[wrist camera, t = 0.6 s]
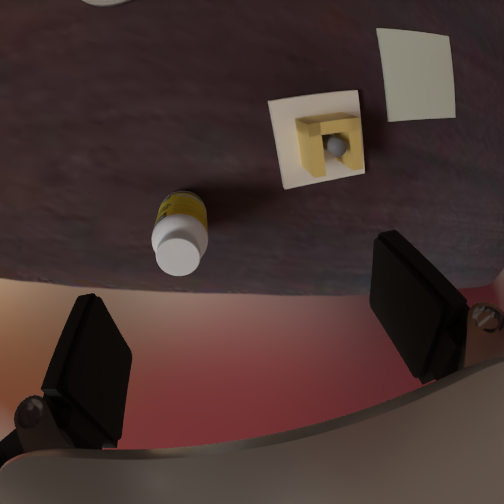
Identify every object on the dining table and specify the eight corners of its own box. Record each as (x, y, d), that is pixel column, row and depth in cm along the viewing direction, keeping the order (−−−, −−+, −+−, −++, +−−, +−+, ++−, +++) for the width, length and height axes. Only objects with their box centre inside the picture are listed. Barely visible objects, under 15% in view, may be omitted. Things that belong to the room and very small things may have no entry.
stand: (267, 101, 35) (280, 104, 29) (354, 89, 35) (379, 93, 30) (283, 187, 41) (296, 205, 36) (361, 171, 42) (384, 186, 36)
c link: (294, 118, 36) (307, 124, 31) (341, 111, 36) (359, 117, 32) (301, 166, 39) (314, 178, 35) (346, 157, 39) (363, 168, 35)
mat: (376, 28, 30) (377, 28, 30) (447, 36, 31) (448, 36, 30) (387, 121, 38) (389, 121, 38) (453, 117, 38) (455, 117, 38)
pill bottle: (177, 180, 39) (169, 217, 29) (216, 206, 41) (221, 251, 32) (150, 216, 41) (136, 263, 31) (188, 240, 44) (186, 292, 34)
